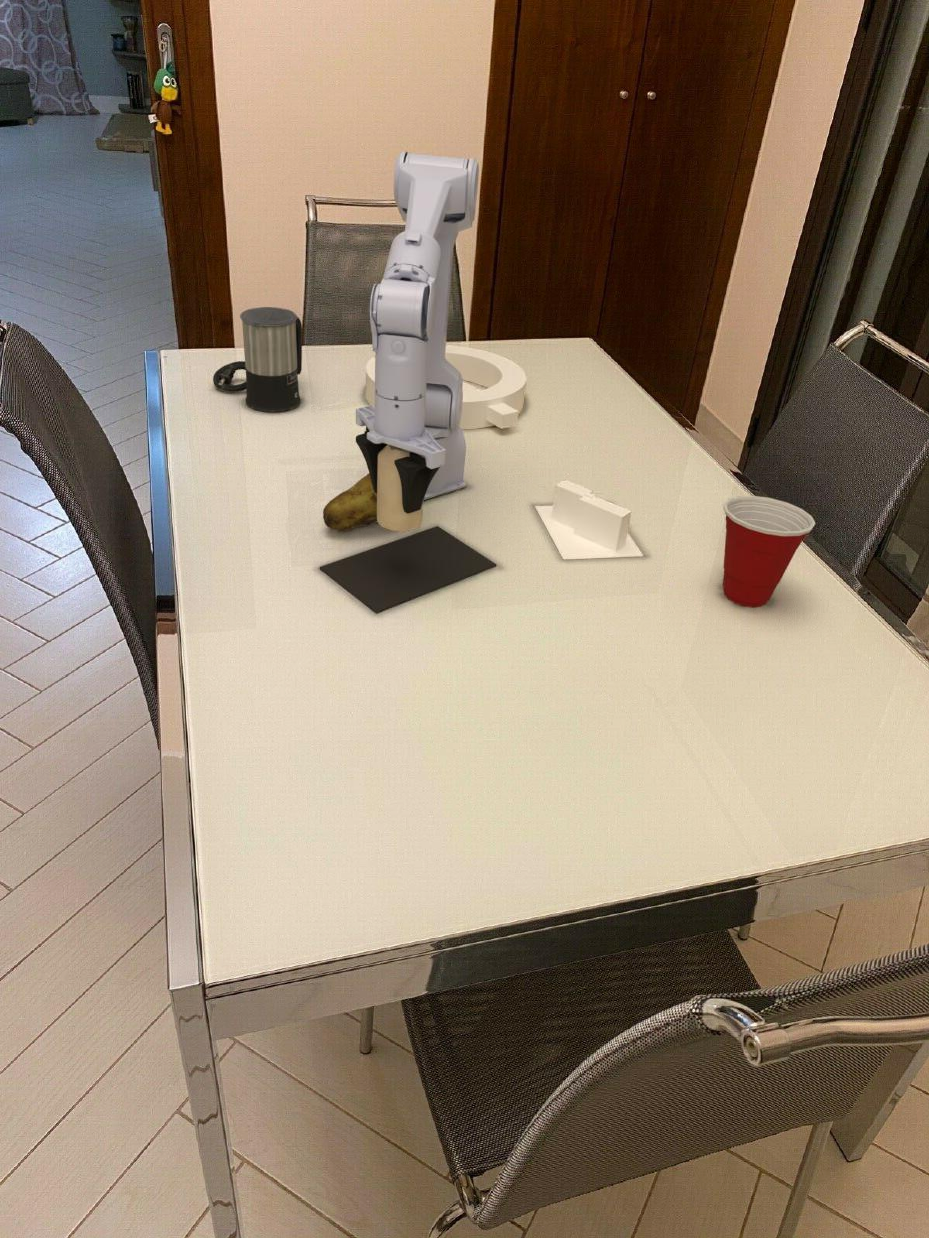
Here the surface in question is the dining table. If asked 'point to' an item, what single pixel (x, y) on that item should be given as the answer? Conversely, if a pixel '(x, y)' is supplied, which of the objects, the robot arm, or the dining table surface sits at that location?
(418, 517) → the candle
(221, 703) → the dining table surface
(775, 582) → the plastic cup
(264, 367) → the milk frother
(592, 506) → the napkin holder
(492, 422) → the white circle with bar
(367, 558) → the mat
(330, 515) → the potato
